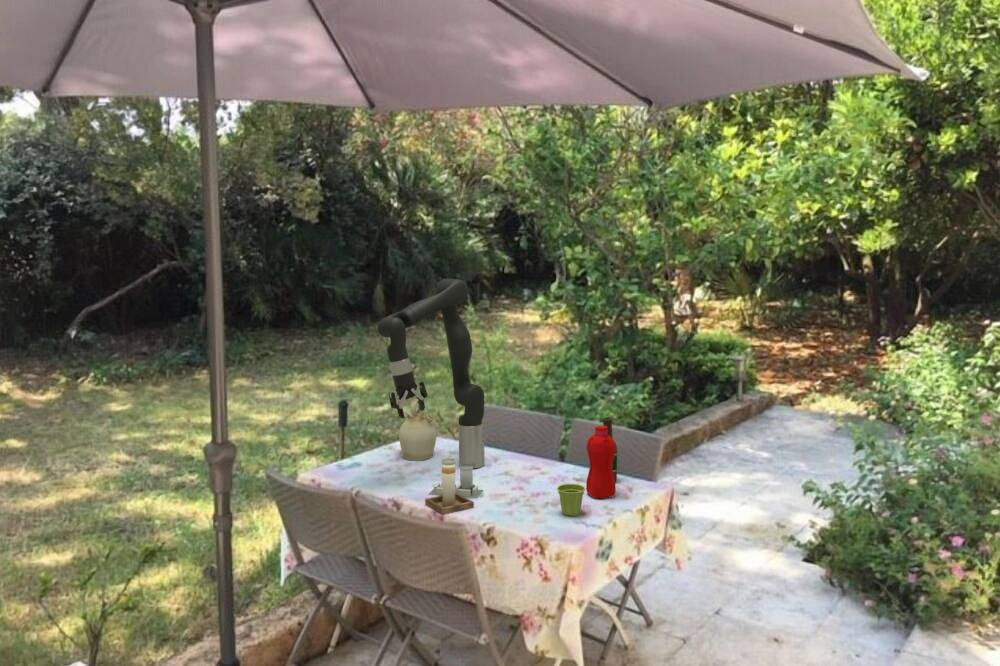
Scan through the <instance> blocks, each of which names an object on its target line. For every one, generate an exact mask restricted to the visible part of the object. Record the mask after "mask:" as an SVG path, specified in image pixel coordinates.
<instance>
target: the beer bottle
mask: <svg viewBox="0 0 1000 666" xmlns="http://www.w3.org/2000/svg"><path fill="white" fill-rule="evenodd" d="M602 422H603V425H602V426H607V427H608V430H607V435H609V436H610V437H612V438H613V437H614V436H613V428H612V427H613V423H612V422H613V418H612V417H608V416H607V417H603V419H602ZM613 439H614V438H613ZM615 446H616V451H615V455H614V459H613V463H612V470H613V475H614V480H615V482H616V483H617V480H618V479H617V477H618V446H617V443H616V442H615Z"/></svg>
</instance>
